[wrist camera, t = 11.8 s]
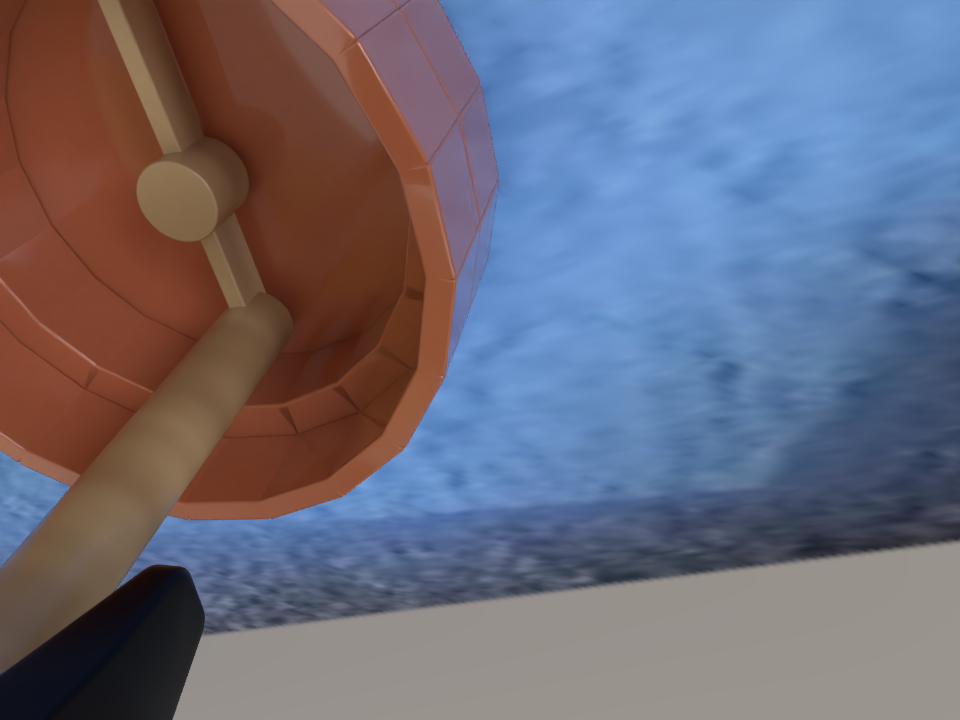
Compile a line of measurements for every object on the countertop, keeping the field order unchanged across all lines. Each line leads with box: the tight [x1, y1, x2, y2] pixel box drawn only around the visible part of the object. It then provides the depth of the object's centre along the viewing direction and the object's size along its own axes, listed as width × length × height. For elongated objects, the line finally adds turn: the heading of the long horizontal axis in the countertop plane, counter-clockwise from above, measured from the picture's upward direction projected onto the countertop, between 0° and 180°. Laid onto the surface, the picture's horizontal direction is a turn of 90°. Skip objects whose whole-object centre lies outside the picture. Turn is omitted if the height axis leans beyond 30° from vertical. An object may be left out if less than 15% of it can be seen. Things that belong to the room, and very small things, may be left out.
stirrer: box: [0, 0, 293, 674], centre depth 14 cm, size 10×2×15 cm, turn 12°
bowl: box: [0, 0, 499, 520], centre depth 18 cm, size 14×14×6 cm
